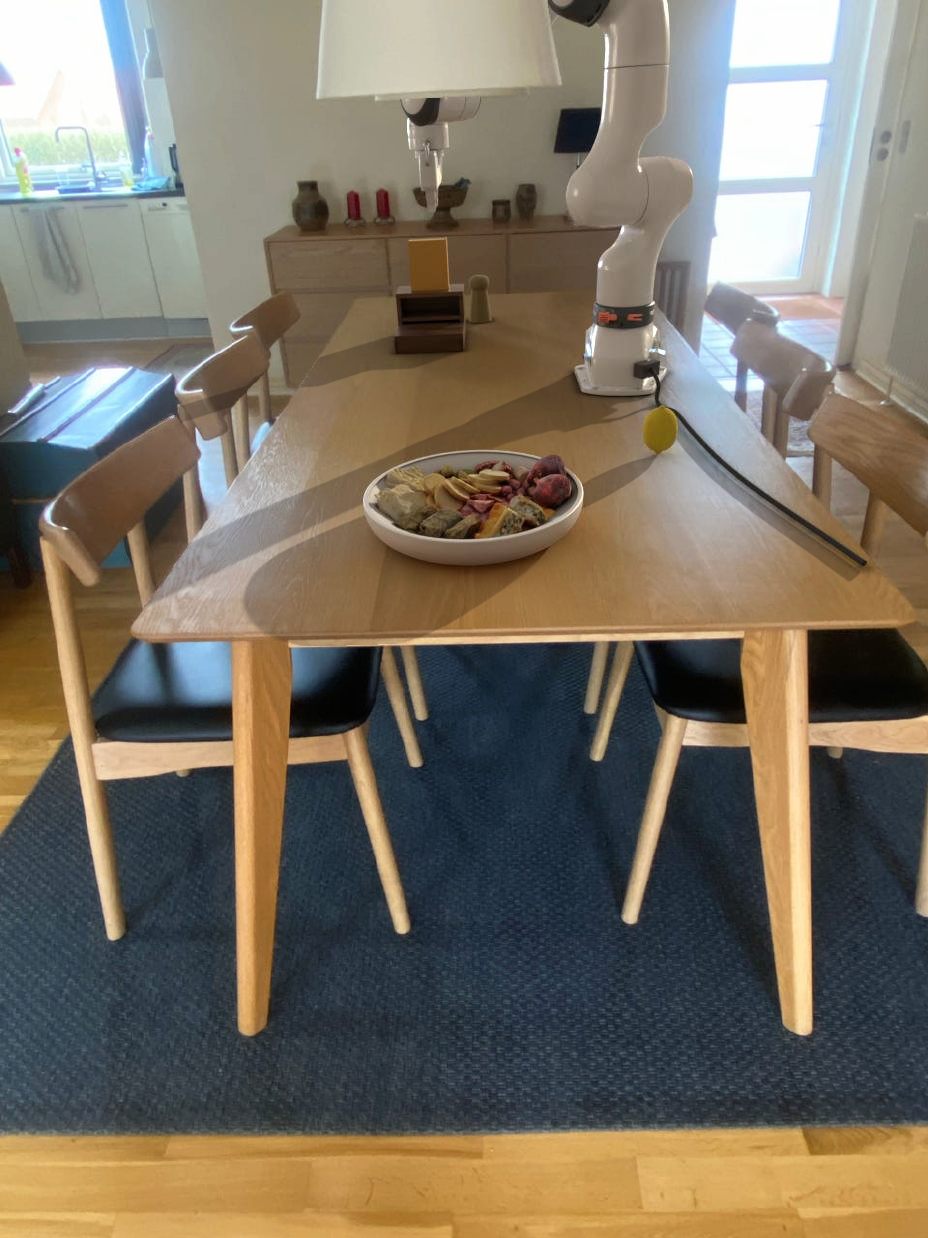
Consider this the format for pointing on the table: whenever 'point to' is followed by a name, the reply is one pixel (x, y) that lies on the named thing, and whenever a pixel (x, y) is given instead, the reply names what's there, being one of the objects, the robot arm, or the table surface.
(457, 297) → the wooden l-shaped block
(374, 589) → the table surface
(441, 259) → the book
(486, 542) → the bowl
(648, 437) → the lemon
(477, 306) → the tan pawn game piece
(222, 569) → the table surface
